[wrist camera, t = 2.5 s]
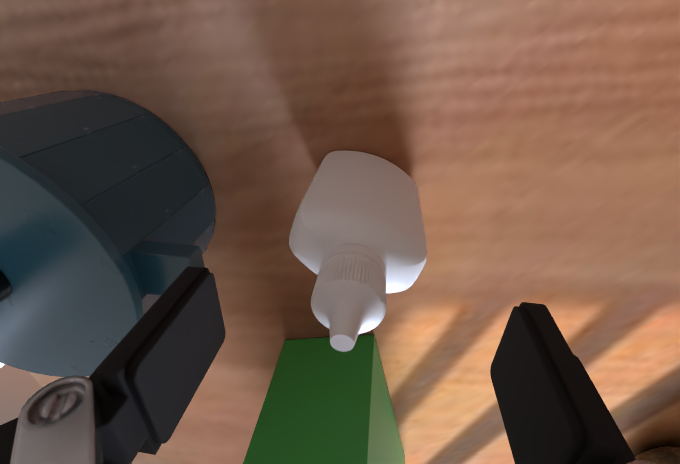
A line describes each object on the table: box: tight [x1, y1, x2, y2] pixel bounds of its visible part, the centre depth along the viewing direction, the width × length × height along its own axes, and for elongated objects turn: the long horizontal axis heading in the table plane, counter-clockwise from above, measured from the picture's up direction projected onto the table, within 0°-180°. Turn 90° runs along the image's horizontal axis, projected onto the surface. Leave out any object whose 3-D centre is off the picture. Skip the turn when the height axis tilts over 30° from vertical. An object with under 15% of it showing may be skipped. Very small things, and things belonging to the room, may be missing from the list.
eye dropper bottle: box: [289, 151, 427, 352], centre depth 15 cm, size 4×6×12 cm
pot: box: [0, 90, 216, 314], centre depth 19 cm, size 13×18×8 cm
